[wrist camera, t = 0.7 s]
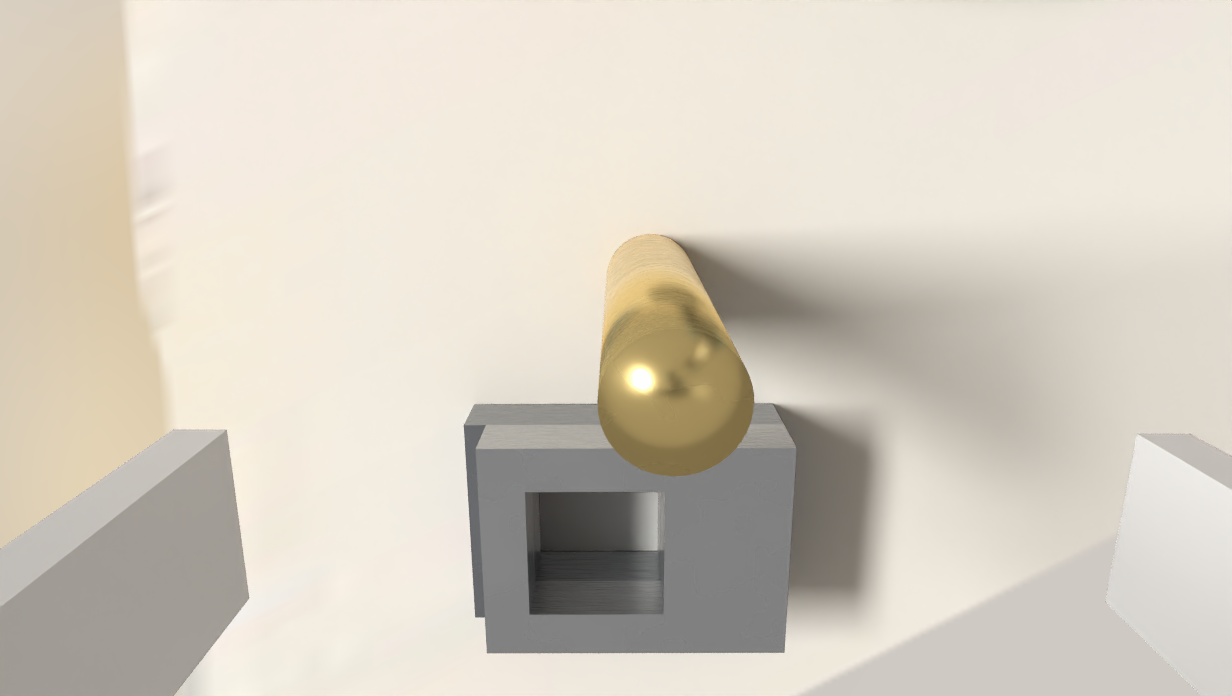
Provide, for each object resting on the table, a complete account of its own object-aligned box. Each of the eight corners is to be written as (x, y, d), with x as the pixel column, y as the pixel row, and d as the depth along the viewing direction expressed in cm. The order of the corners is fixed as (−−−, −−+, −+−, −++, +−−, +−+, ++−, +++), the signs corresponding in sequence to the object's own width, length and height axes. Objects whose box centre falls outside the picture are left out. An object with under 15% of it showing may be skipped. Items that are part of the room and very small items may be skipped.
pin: (693, 234, 29) (757, 328, 16) (692, 318, 30) (750, 476, 17) (606, 234, 29) (596, 328, 16) (607, 319, 30) (597, 476, 17)
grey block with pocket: (484, 586, 33) (465, 653, 29) (474, 404, 31) (452, 448, 27) (763, 585, 33) (784, 652, 29) (772, 403, 31) (796, 447, 27)
